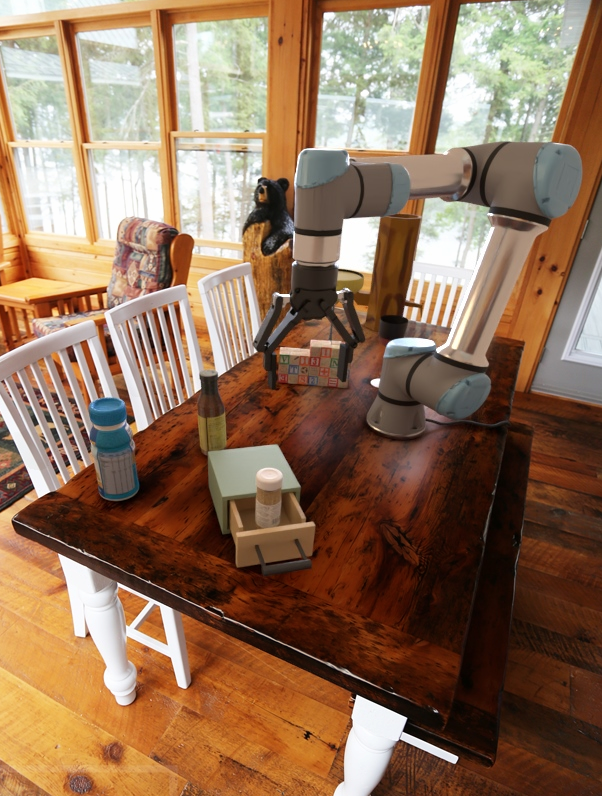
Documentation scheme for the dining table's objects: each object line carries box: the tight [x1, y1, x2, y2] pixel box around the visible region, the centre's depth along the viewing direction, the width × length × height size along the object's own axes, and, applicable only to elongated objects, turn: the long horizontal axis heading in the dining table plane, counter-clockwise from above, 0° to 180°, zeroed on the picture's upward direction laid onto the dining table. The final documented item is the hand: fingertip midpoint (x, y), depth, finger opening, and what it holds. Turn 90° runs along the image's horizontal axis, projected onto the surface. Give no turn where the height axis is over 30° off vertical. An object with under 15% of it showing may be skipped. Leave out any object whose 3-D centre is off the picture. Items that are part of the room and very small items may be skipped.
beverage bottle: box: [87, 396, 140, 502], centre depth 100 cm, size 8×8×20 cm
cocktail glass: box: [327, 268, 365, 341], centre depth 176 cm, size 18×18×25 cm
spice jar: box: [255, 468, 283, 530], centre depth 89 cm, size 5×5×14 cm
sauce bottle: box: [196, 369, 228, 457], centre depth 115 cm, size 7×6×20 cm
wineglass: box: [370, 315, 409, 389], centre depth 151 cm, size 8×9×20 cm
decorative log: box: [354, 212, 424, 332], centre depth 194 cm, size 14×40×30 cm
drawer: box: [227, 492, 316, 578], centre depth 90 cm, size 21×14×7 cm, turn 15°
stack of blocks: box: [277, 339, 352, 389], centre depth 153 cm, size 21×6×12 cm, turn 84°
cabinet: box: [207, 443, 302, 535], centre depth 101 cm, size 16×15×9 cm
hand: (307, 383), depth 93 cm, fingers open, 13 cm apart
